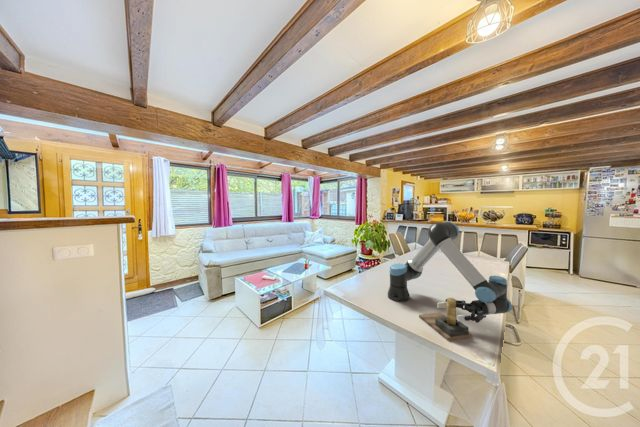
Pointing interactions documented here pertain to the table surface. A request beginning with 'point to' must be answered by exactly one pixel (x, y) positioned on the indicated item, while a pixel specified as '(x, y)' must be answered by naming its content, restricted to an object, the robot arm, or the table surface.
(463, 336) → the board
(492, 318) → the table surface
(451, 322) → the peg
